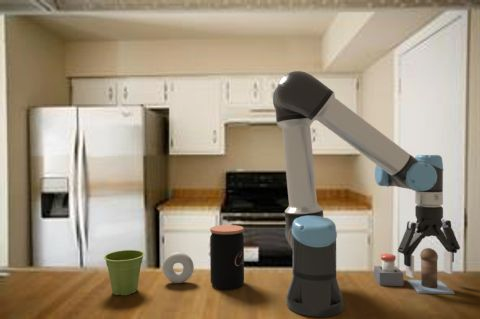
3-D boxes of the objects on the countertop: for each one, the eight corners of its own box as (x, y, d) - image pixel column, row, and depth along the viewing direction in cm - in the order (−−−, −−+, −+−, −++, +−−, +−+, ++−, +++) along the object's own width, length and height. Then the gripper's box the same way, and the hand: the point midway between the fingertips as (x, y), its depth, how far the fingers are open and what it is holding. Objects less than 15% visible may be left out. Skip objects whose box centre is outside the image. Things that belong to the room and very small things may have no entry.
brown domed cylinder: (424, 288, 110) (423, 250, 110) (418, 282, 115) (417, 246, 115) (441, 288, 110) (440, 250, 110) (434, 283, 114) (433, 246, 114)
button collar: (379, 285, 114) (379, 272, 114) (374, 278, 121) (374, 265, 121) (403, 286, 114) (403, 273, 114) (396, 278, 121) (396, 266, 121)
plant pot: (95, 295, 109) (94, 257, 109) (125, 282, 119) (124, 248, 119) (124, 302, 103) (124, 262, 103) (153, 288, 114) (152, 252, 114)
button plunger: (382, 280, 116) (382, 257, 116) (379, 276, 120) (379, 253, 120) (397, 281, 115) (397, 257, 115) (393, 276, 119) (393, 254, 119)
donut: (161, 285, 116) (161, 253, 116) (163, 281, 120) (163, 251, 120) (193, 284, 117) (193, 253, 117) (194, 280, 120) (194, 250, 120)
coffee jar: (240, 291, 110) (240, 232, 110) (206, 289, 112) (205, 230, 112) (247, 280, 121) (246, 225, 121) (215, 278, 123) (215, 224, 123)
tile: (418, 293, 108) (418, 290, 108) (406, 281, 118) (406, 279, 118) (454, 294, 107) (454, 292, 107) (439, 282, 117) (439, 280, 117)
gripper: (401, 208, 106) (401, 282, 106) (473, 205, 111) (473, 275, 112) (385, 205, 113) (385, 274, 113) (453, 202, 119) (453, 267, 119)
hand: (429, 274), depth 112 cm, fingers open, 13 cm apart
